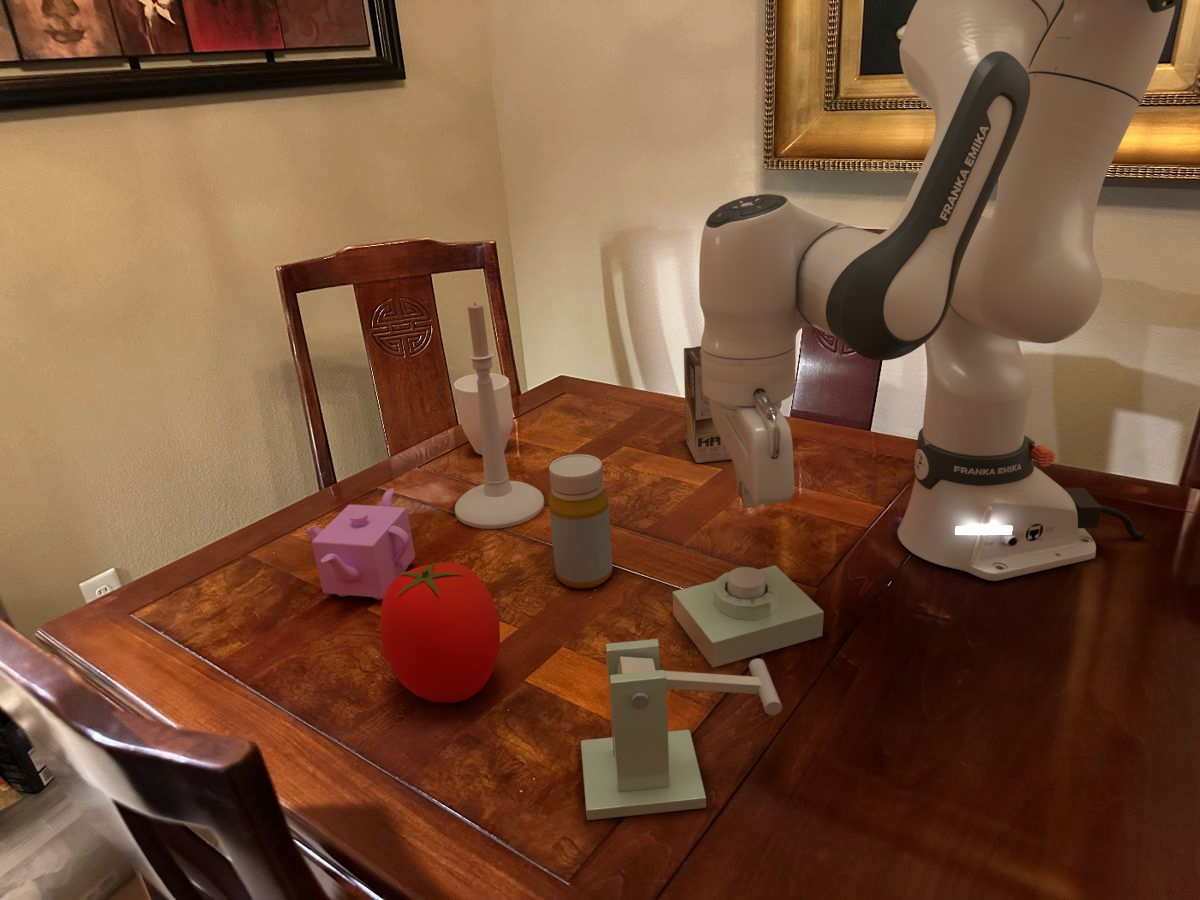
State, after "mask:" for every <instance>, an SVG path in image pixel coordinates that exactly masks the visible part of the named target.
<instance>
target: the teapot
mask: <svg viewBox="0 0 1200 900" xmlns="http://www.w3.org/2000/svg"><path fill="white" fill-rule="evenodd" d="M394 493H395V488H393V487H391V488H389V489H387V490H385V492H384V494H383V495H382V498H381V502H380V505H368V504H351V503H349V504H348V505H347V506H345V508H344V509H342V510H341V512H339V514H338V515H337V516H335V517H334V519H332V520H331V521H330V523H328V524H327V525H326V526H325V527H324V528H320V527H319V526H318V525H314V526H310V527H308V528H307V529H306V530H305V531H304V532H305V534H306V535H307V536H308V537H309V538H310V540H311V542H310V544H311V547H312V551H313V556H314V560H315V564H316V568H317V573H318V578H319V582H320V586H321V591H322V593H323V594H331V595H337V596H339V597H348V596H355V597H357V596H358V597H368V598H373V599H374V600H383V596H384V594H385V592H386V590H387V588H388V587H389V585H390V583H391V582H392V581H393V580H394V579H396V578H397V577H399V576H400V575H402V574H395V573H405V572H407V571H406V570H407V569H408V568H409V565H410V564H411V563H412V561H413V560H414V559H415V558H416V552H415V546H414V540H413V535H412V531H411V523H410V517H409V513H408V508H407V507H400V506H399V507H398V506H393V496H394Z"/></svg>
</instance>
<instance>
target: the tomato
mask: <svg viewBox="0 0 1200 900" xmlns="http://www.w3.org/2000/svg"><path fill="white" fill-rule="evenodd" d="M395 574H402V575H400V576H399V577H397V578H396V579H394V580H393V581H392V582H391V583H390V585H389V587H388V588H387V590H386V592H385V594H384V596H383V599H381V607H380V618H379V619H380V621H379V627H380V628H379V629H380V640H381V645H382V649H383V651H384V655H385V658H386V660H387V662H388V664H389V666H390V668H391V671H392V672H393V674H394V675H395V677H396V678H397V680H398V681H399V683H401V684H402V685H403V686H404V687H405V688H406V689H407V690H408V691H410V692H411V693H412V694H413V695H415V696H417V697H419V698H422V699H424V700H426V701H429V702H434V703H441V704H443V703H444V704H451V703H460V702H463V701H465V700H468V699H470V698H471V697H473V696H474V695H476V694H477V693H479V692H480V691H481V690H482V688H483V687H484V686H485V685H486V683H487V682H488V680H489V679H490V677H491V675H492V673H493V671H494V668H495V665H496V663H497V660H498V657H499V653H500V652H499V650H500V646H501V625H500V624H501V621H500V618H499V614H498V611H497V607H496V604H495V600H494V599H493V597H492V594H491V593H490V591H489V589H488V587H487V586H486V583H485V582H484V581H483V580H482V579H481V578H480V577H479V576H478V575H477V574H476V572H475V571H474V570H473V569H471V568H469V567H467V566H465V565H463V564H460V563H457V562H451V561H448V562H438V563H436V561H434V562H433V563H431V564H426V565H422V566H418V567H414V568H412V569H410V570H408V571H406V572H405V573H395Z"/></svg>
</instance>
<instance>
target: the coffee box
mask: <svg viewBox="0 0 1200 900" xmlns="http://www.w3.org/2000/svg"><path fill="white" fill-rule="evenodd" d="M700 350H701V345H698V346H697V345H696V346H694V347H685V348H683V371H684V372H683V375H684V376H683V379H684V381H683V382H684V407H685V408H684V415H685V419H684V420H685V423H684V424H685V443H686V445H687V447H688V449H689V451H690V453H691V455H692V457H693V460H694V461H695V463H696V464H701V463H708V462H709V463H710V462H720V461H732V459H731V457H730V455H729V453H728V451H727V449H726V447H725V445H724V443H723V441H722V439H721V437H720V436H719V434H718V432H717V430H716V428H715V426H714V424H713V420H712V416H711V411H710V404H709V399H708V398H707V397H706V396H705V395H704V394H703V391H702V368H701V364H700Z"/></svg>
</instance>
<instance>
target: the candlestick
mask: <svg viewBox="0 0 1200 900" xmlns="http://www.w3.org/2000/svg"><path fill="white" fill-rule="evenodd" d="M484 311H485V309H484V304H482V303H476V301H474V303H473V304H469V305H467V313H468V320H469V327H470V338H471V343H472V352H471V353H469V354H468V355H467V358H469V359H470V360H471V361H472V369H473V370H475V371H476V373H475V374H478V380H477V385H478V398H479V412H480V426H481V440H482V453H483V455H482V468H483V481H484V483H481V484H479V485H477V486H475V487H473V488H471V489H469V490H468V491H466V492H465V493H463V495H462V496H460V497H459V498H458V499H457V501H456V503H455V505H454V514H455V517H456V518H457V520H458V521H459V522H461V523H462V524H463V525H466V526H469V527H471V528H476V529H485V530H486V529H487V530H488V529H489V530H495V529H504V528H509V527H515V526H518V525H521V524H524V523H527V522H528V521H531V520H532V519H533V518H535V517H536V516H538V515H539V514H540V513H541V512H542V510H543V509H544V506H545V497H544V495H543V493H542V491H541V490H540V489H538V488H536V487H535V486H533V485H531V484H529V483H526V482H523V481H517V480H510V474H509V472H508V471H509V470H508V465H507V460H506V454H505V450H504V448H503V442H502V437H501V431H500V425H499V419H498V413H497V408H496V402H495V396H494V390H493V385H492V379H491V378H490V373H491V369H492V367H493V361H492V359H493V357H494V356H495V355H496V352H494V351H491V350H489V345H488V336H487V327H486V321H485V319H486V318H485V312H484Z"/></svg>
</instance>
